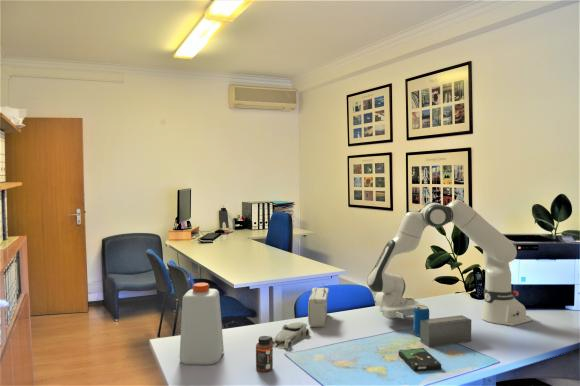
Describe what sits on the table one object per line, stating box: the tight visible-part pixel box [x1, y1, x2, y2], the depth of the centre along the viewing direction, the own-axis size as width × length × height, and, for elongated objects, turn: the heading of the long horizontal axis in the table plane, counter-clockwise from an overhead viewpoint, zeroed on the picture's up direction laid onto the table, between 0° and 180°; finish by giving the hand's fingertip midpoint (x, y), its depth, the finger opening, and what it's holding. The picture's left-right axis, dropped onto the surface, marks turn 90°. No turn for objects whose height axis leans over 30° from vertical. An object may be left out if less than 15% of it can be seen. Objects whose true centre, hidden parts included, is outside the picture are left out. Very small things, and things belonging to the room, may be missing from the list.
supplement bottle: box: [255, 335, 274, 373], centre depth 163 cm, size 6×6×11 cm
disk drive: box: [398, 347, 442, 373], centre depth 168 cm, size 10×3×15 cm
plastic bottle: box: [179, 282, 225, 366], centre depth 173 cm, size 15×15×28 cm
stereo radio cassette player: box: [307, 284, 330, 328], centre depth 215 cm, size 21×8×20 cm, turn 172°
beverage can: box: [412, 304, 430, 337], centre depth 196 cm, size 6×6×12 cm
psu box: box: [419, 314, 472, 348], centre depth 188 cm, size 20×6×9 cm, turn 107°
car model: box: [267, 322, 310, 350], centre depth 193 cm, size 11×24×5 cm, turn 152°
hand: (413, 315), depth 202 cm, fingers open, 8 cm apart
